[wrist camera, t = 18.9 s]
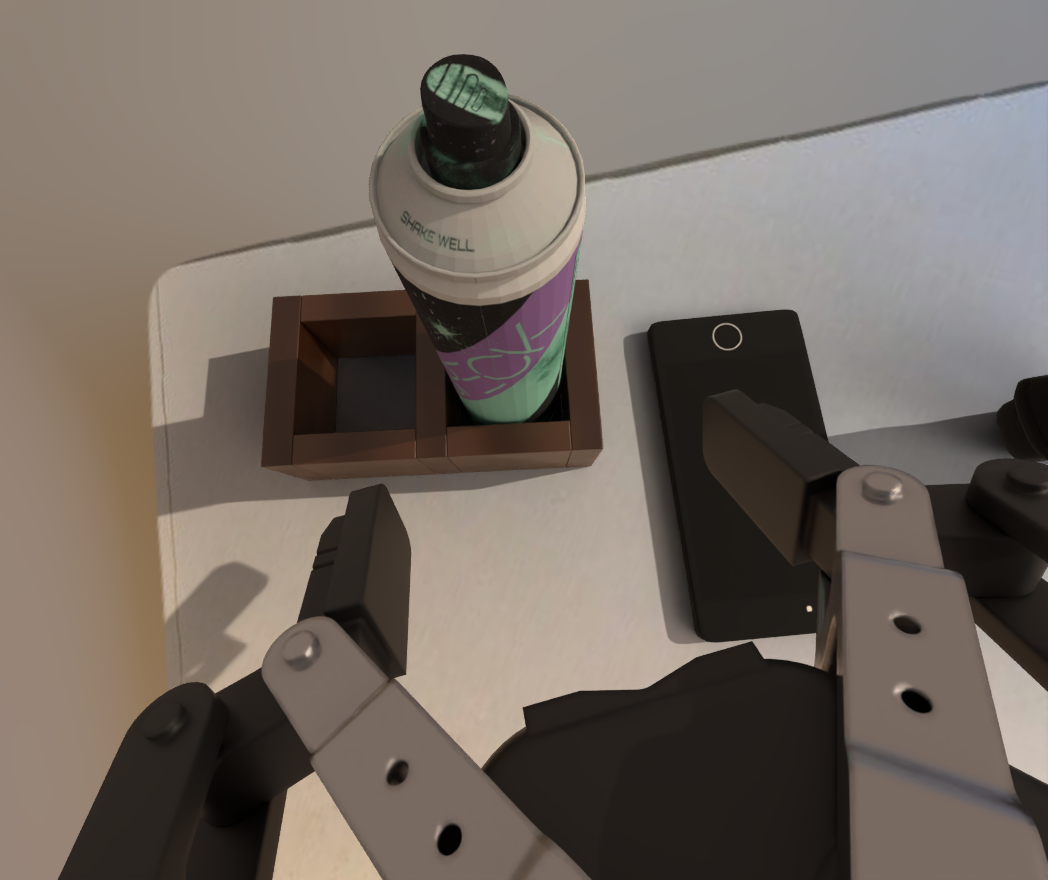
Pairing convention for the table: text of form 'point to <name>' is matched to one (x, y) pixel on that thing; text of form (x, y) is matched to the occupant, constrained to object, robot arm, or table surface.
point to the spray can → (485, 235)
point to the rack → (439, 439)
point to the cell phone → (701, 501)
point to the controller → (1026, 420)
